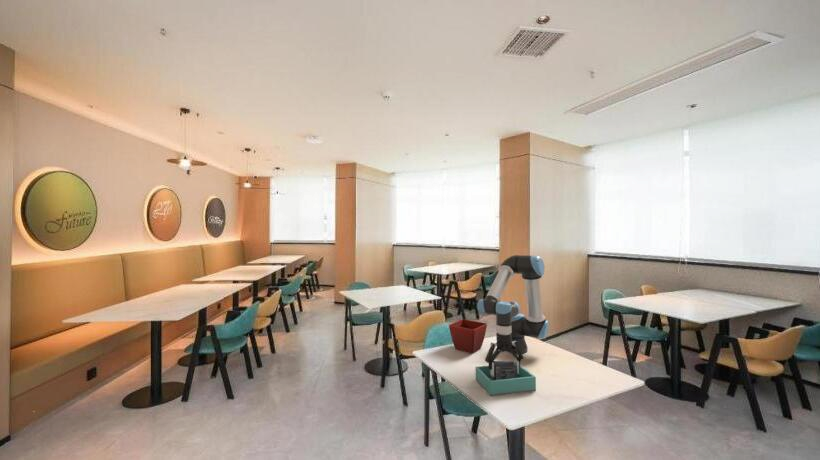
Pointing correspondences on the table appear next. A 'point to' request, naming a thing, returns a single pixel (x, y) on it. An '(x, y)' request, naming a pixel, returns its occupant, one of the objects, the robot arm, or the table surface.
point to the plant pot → (467, 335)
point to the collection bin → (505, 382)
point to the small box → (504, 370)
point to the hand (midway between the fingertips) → (504, 374)
